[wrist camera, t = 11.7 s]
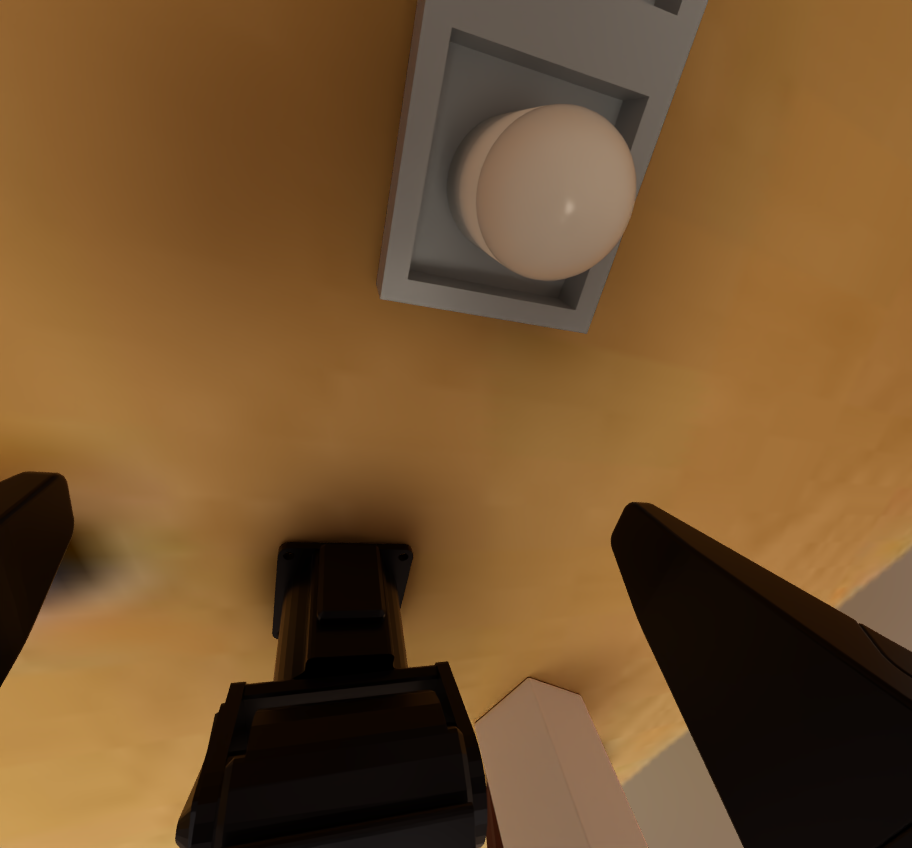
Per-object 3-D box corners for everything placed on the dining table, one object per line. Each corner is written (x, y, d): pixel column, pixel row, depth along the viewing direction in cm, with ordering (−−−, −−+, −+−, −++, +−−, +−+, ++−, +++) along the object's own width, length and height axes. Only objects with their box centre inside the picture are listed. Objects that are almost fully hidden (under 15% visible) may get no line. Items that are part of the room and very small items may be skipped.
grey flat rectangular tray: (565, 317, 20) (586, 333, 18) (376, 284, 18) (380, 299, 16) (782, -324, 12) (853, -399, 11) (495, -535, 10) (527, -675, 8)
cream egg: (545, 263, 18) (629, 310, 13) (435, 240, 17) (478, 282, 12) (584, 133, 16) (702, 127, 11) (463, 95, 15) (531, 68, 10)
